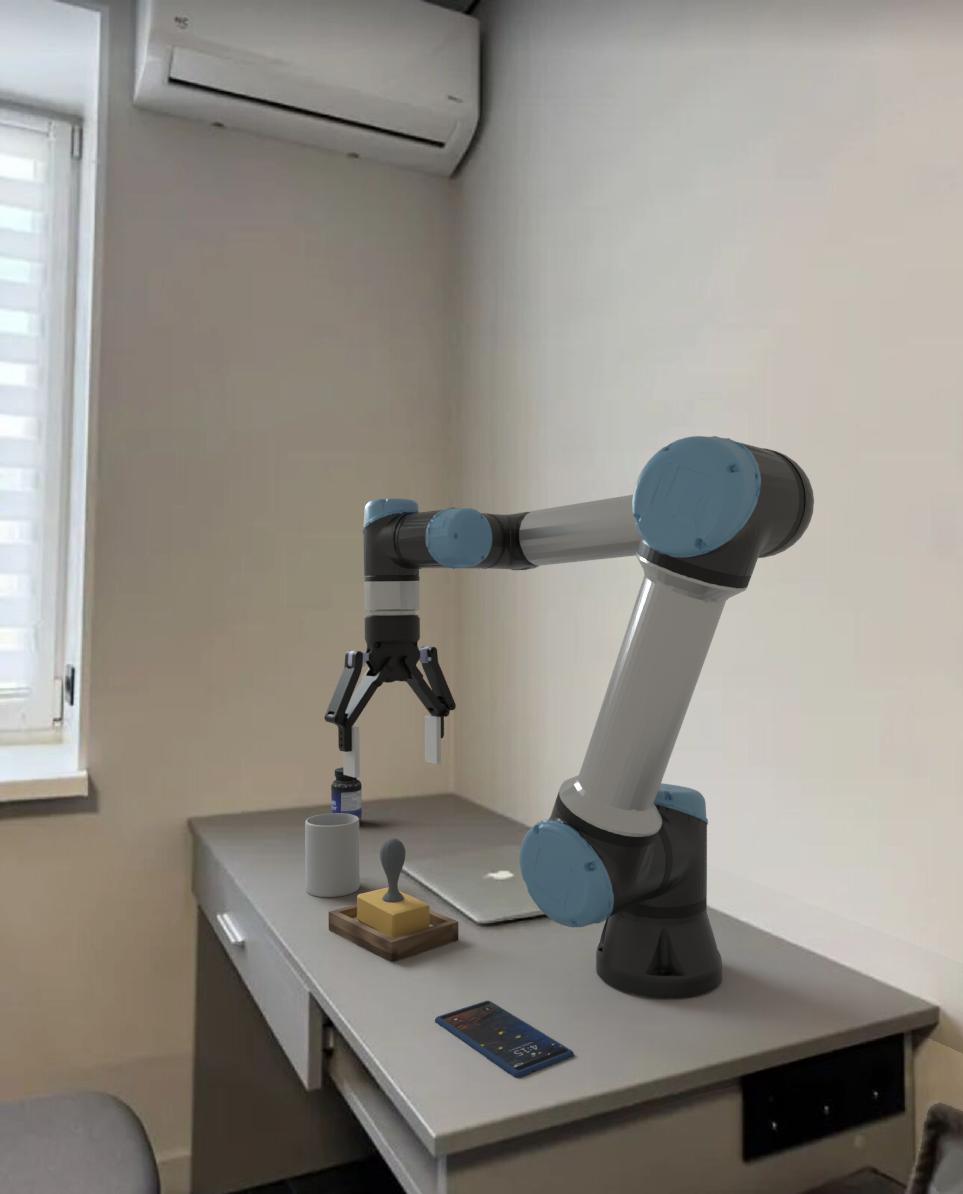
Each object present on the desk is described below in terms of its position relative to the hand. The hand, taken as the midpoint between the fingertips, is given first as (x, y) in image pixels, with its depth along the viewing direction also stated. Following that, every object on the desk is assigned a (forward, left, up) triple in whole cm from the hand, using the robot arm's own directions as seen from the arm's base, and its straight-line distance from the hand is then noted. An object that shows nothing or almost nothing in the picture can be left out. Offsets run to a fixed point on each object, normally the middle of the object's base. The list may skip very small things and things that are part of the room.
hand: (393, 769), depth 126 cm
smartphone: (-31, +8, -23) cm, 40 cm away
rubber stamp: (0, 0, -22) cm, 22 cm away
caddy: (0, 0, -23) cm, 23 cm away
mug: (+24, -5, -23) cm, 34 cm away
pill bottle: (+56, -28, -23) cm, 67 cm away
